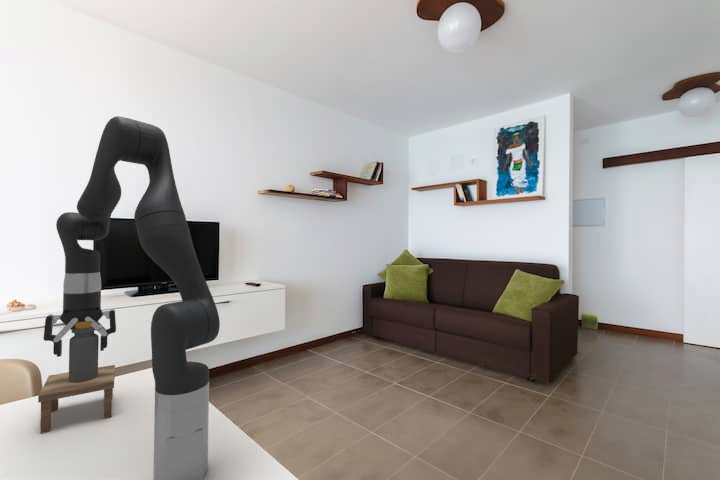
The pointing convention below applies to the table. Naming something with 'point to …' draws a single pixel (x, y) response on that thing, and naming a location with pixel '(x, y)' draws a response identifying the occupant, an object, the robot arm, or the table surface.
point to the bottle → (83, 353)
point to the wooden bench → (74, 392)
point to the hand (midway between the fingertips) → (81, 352)
